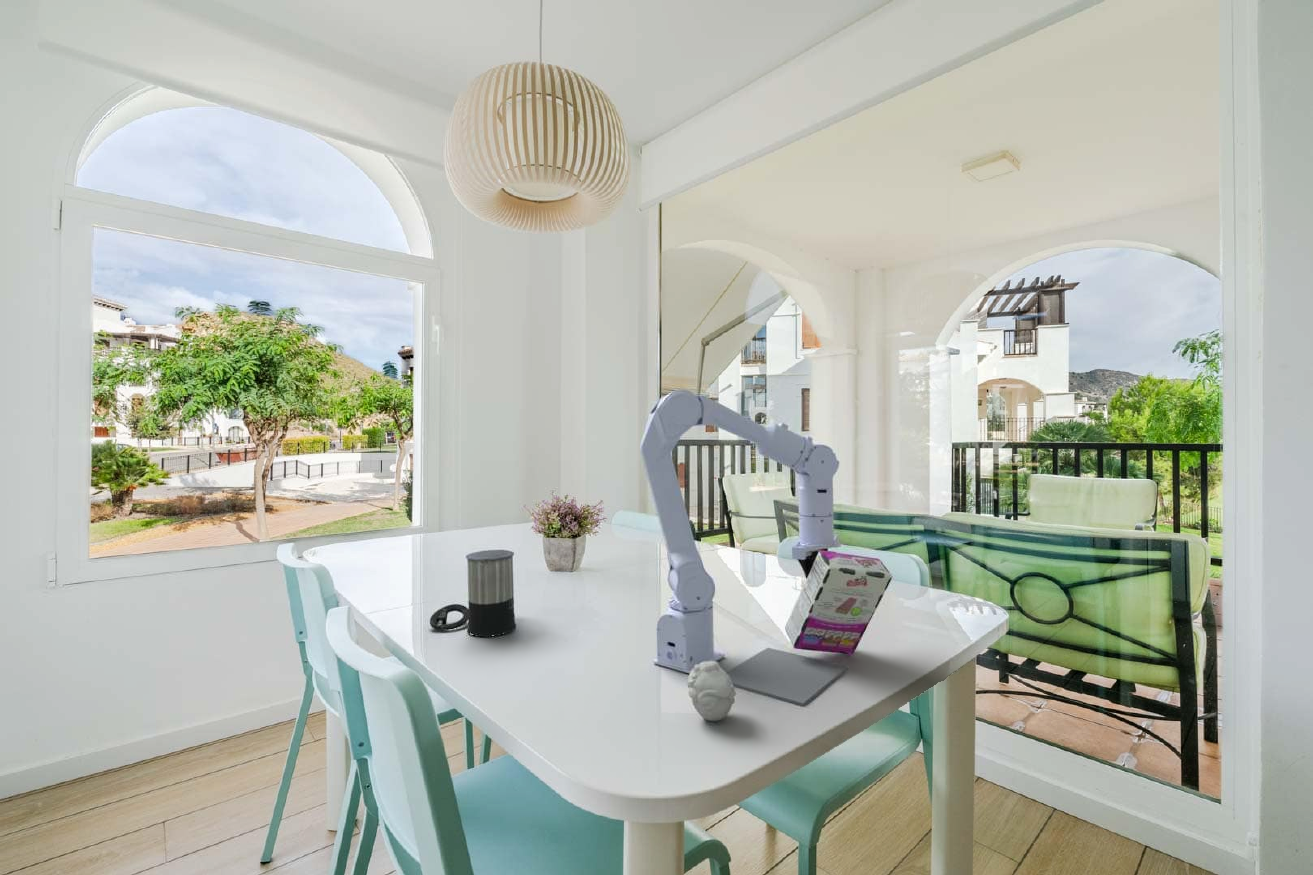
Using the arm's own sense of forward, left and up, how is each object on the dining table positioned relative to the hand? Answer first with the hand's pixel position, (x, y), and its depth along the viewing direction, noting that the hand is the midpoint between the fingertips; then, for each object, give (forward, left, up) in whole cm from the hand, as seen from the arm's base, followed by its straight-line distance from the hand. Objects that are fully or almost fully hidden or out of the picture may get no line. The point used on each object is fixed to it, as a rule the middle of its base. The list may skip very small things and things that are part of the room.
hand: (817, 594), depth 100 cm
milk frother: (-28, +59, -10) cm, 66 cm away
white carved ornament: (-31, +1, -10) cm, 32 cm away
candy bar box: (-2, -1, -7) cm, 8 cm away
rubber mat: (-13, 0, -9) cm, 16 cm away
